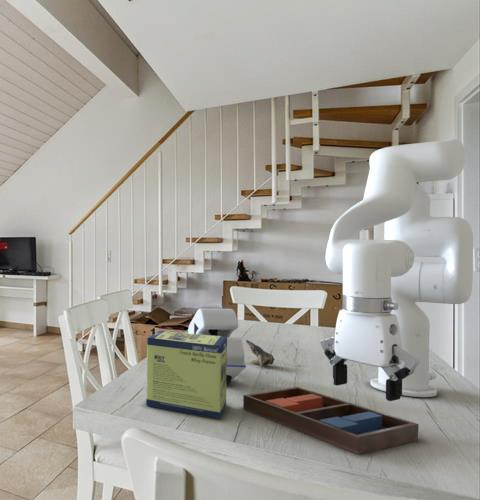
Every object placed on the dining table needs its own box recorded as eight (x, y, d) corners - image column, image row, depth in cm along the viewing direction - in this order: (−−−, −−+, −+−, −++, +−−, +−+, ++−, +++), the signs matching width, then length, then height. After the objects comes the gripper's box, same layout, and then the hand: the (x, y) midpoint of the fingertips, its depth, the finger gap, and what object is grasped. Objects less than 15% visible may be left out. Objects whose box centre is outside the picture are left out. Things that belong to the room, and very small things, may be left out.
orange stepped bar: (308, 403, 106) (308, 392, 106) (326, 409, 103) (326, 398, 102) (265, 410, 102) (265, 399, 102) (282, 417, 98) (282, 405, 98)
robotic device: (228, 401, 132) (214, 334, 143) (256, 375, 114) (238, 300, 125) (189, 400, 133) (178, 333, 144) (211, 373, 115) (197, 300, 126)
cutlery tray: (297, 399, 111) (297, 386, 111) (418, 440, 88) (418, 423, 88) (243, 408, 105) (243, 394, 105) (358, 454, 83) (358, 437, 83)
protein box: (221, 420, 99) (222, 345, 98) (145, 406, 107) (145, 337, 106) (227, 405, 107) (228, 336, 107) (156, 393, 116) (157, 329, 115)
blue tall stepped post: (364, 421, 95) (364, 410, 95) (386, 429, 92) (386, 417, 92) (318, 431, 91) (319, 418, 91) (340, 439, 87) (340, 426, 87)
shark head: (240, 363, 143) (240, 341, 143) (251, 360, 147) (251, 338, 147) (267, 369, 137) (267, 346, 136) (278, 366, 140) (278, 343, 140)
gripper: (431, 310, 86) (429, 403, 87) (334, 298, 103) (334, 376, 103) (404, 313, 84) (403, 409, 85) (310, 300, 100) (309, 381, 101)
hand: (365, 391), depth 94 cm, fingers open, 9 cm apart
